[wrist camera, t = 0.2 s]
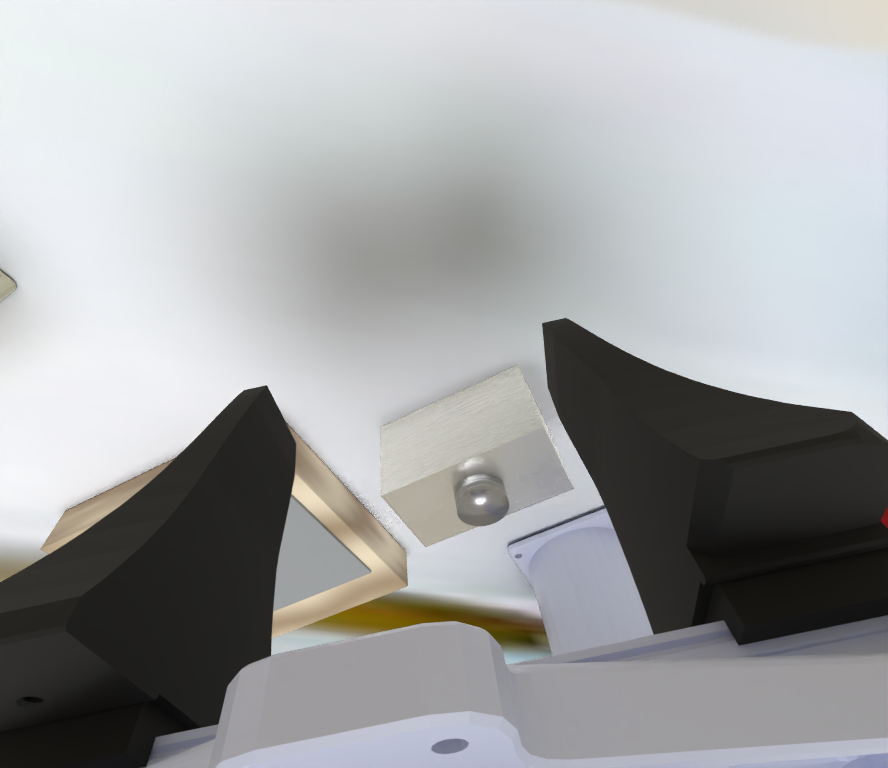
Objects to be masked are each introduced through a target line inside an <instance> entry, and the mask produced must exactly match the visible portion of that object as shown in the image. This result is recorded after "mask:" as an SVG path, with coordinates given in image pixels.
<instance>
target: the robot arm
mask: <svg viewBox="0 0 888 768" xmlns="http://www.w3.org/2000/svg"><path fill="white" fill-rule="evenodd" d="M542 326H543V337H544V349H545V360H546V371H547V382H548V389H549V392H550V394H551V397H552V400H553V403H554V405H555V408H556V411H557V413H558V416H559V418H560V420H561V422H562V424H563V426H564V428H565V430H566V432H567V434H568V435H569V437H570V439H571V441H572V443H573V445H574V447H575V448H576V450H577V452H578V454H579V456H580V458H581V459H582V461H583V463H584V465H585V467H586V469H587V470H588V472H589V474H590V476H591V478H592V480H593V481H594V483H595V485H596V487H597V489H598V492H599V494H600V496H601V498H602V500H603V502H604V505H605V507H606V508H604V509H602V510H599V511H597V512H594V513H591V514H589V515H586V516H584V517H581V518H578V519H576V520H573V521H571V522H568V523H565V524H563V525H560V526H558V527H555V528H552V529H550V530H547V531H545V532H542V533H539V534H537V535H534V536H532V537H529V538H526V539H524V540H521V541H519V542H516V543H513V544H511V545H510V546H509V547H508V552H509V555H510V556H511V558H512V559H513V561H514V562H515V563H516V565H517V566H518V568H519V569H520V570H521V572H522V573H523V575H524V576H525V578H526V579H527V580H528V582H529V583H530V585H531V586H532V588H533V589H534V590H535V594H536V597H537V601H538V605H539V608H540V612H541V615H542V619H543V622H544V626H545V630H546V633H547V637H548V640H549V644H550V648H551V651H552V655H553V656H548V657H543V658H538V659H533V660H529V661H524V662H519V663H514V664H509V665H506V663H505V659H504V656H503V652H502V648H501V646H500V645H499V644H498V643H497V641H496V640H495V639H494V638H493V637H492V636H491V635H490V634H489V633H488V632H487V631H485V630H484V629H482V628H479V627H475V626H472V625H468V624H464V623H460V622H456V621H452V622H437V623H423V624H418V625H413V626H408V627H404V628H399V629H394V630H389V631H384V632H380V633H375V634H370V635H365V636H360V637H356V638H351V639H346V640H341V641H337V642H332V643H327V644H322V645H317V646H313V647H308V648H303V649H298V650H294V651H289V652H284V653H279V654H275V655H272V656H271V640H272V623H273V607H274V595H275V583H276V572H277V564H278V558H279V552H280V547H281V542H282V537H283V532H284V528H285V523H286V518H287V513H288V508H289V504H290V499H291V493H292V488H293V483H294V478H295V464H296V442H295V440H294V438H293V436H292V434H291V432H290V430H289V428H288V426H287V424H286V422H285V420H284V418H283V416H282V414H281V412H280V410H279V408H278V406H277V404H276V402H275V400H274V398H273V396H272V394H271V393H270V391H269V389H268V387H267V385H266V386H261V387H257V388H252V389H248V390H244V391H243V392H242V393H240V394H239V395H238V396H237V397H236V398H235V399H234V400H233V401H232V402H231V403H230V404H229V405H228V406H227V407H226V408H225V409H224V410H223V411H222V412H221V413H220V414H219V415H218V416H217V417H216V418H215V419H214V420H213V421H212V422H211V423H210V424H209V425H208V426H207V427H206V428H205V430H204V431H203V432H202V433H201V434H200V435H199V436H198V437H197V438H196V439H195V440H194V441H193V442H192V443H191V444H190V445H189V446H188V447H187V448H186V449H185V450H184V451H183V452H181V453H180V454H179V455H178V456H177V457H176V458H175V459H174V460H173V461H172V462H171V463H170V464H169V465H168V466H167V467H166V468H165V469H164V470H163V471H162V472H160V473H159V474H158V475H157V476H156V477H155V478H154V479H152V480H151V481H150V482H149V483H148V484H147V485H145V486H144V487H143V488H142V489H141V490H139V491H138V492H137V493H136V494H134V495H133V496H132V497H131V498H129V499H128V500H127V501H126V502H124V503H123V504H122V505H120V506H119V507H118V508H116V509H115V510H114V511H112V512H111V513H109V514H108V515H107V516H105V517H104V518H102V519H101V520H100V521H98V522H97V523H95V524H94V525H93V526H91V527H90V528H88V529H87V530H86V531H84V532H83V533H81V534H80V535H78V536H77V537H75V538H74V539H72V540H71V541H69V542H68V543H66V544H64V545H63V546H61V547H60V548H58V549H57V550H55V551H53V552H52V553H50V554H48V555H47V556H45V557H44V558H42V559H40V560H39V561H37V562H35V563H34V564H32V565H30V566H29V567H27V568H25V569H23V570H22V571H20V572H18V573H17V574H15V575H13V576H11V577H9V578H7V579H5V580H4V581H2V582H0V768H888V528H887V527H886V526H885V525H884V524H883V523H882V522H881V521H880V520H881V518H882V516H883V514H884V512H885V511H886V509H887V507H888V440H887V439H885V438H884V437H883V436H882V435H880V434H879V433H878V432H877V431H875V430H874V429H873V428H872V427H870V426H869V425H868V424H867V423H865V422H864V421H863V420H862V419H860V418H859V417H858V416H856V415H855V414H854V413H852V412H847V411H840V410H832V409H825V408H817V407H809V406H802V405H794V404H788V403H783V402H778V401H773V400H768V399H762V398H757V397H753V396H748V395H744V394H740V393H736V392H732V391H728V390H725V389H721V388H717V387H714V386H710V385H707V384H703V383H700V382H697V381H694V380H691V379H688V378H685V377H683V376H680V375H677V374H674V373H672V372H669V371H666V370H664V369H661V368H659V367H657V366H654V365H652V364H650V363H648V362H646V361H643V360H641V359H639V358H637V357H635V356H633V355H631V354H629V353H627V352H625V351H623V350H621V349H619V348H617V347H615V346H614V345H612V344H610V343H608V342H606V341H605V340H603V339H601V338H599V337H598V336H596V335H594V334H593V333H591V332H589V331H588V330H586V329H584V328H583V327H581V326H579V325H578V324H576V323H574V322H573V321H571V320H569V319H567V318H564V319H559V320H555V321H550V322H546V323H542Z"/></svg>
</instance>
